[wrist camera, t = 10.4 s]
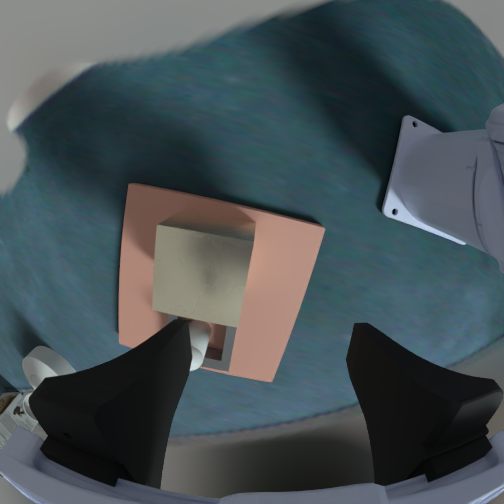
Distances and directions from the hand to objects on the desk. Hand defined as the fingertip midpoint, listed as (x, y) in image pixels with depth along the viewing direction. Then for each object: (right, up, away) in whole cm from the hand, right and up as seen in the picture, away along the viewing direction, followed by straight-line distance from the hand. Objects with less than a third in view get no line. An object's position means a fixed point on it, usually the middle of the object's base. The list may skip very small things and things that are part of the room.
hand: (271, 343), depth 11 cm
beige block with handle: (-4, +1, +9) cm, 10 cm away
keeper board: (-4, +1, +10) cm, 11 cm away
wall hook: (-25, -11, +14) cm, 31 cm away
